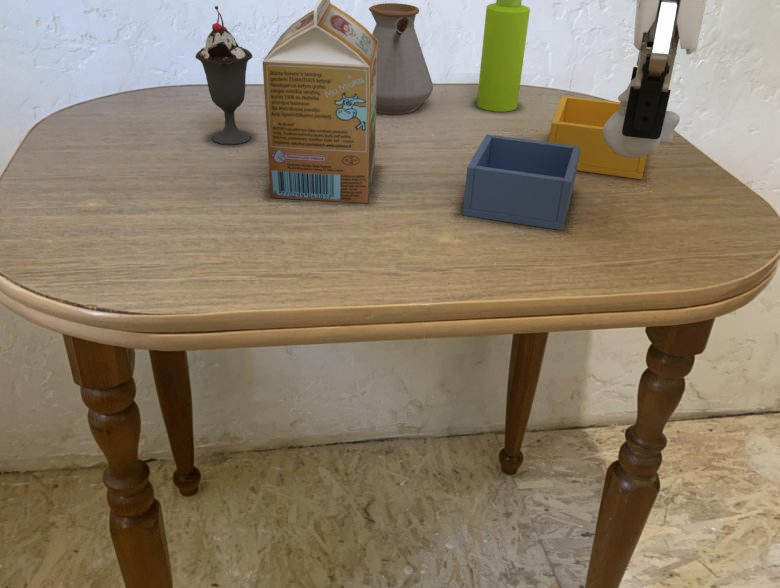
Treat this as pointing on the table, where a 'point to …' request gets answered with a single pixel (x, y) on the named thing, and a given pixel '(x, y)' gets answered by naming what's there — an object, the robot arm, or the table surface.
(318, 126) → the milk carton
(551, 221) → the slate bin
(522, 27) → the soap dispenser
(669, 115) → the grey rounded piece
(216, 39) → the sundae
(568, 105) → the mustard bin
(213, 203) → the table surface
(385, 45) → the coffee pot
